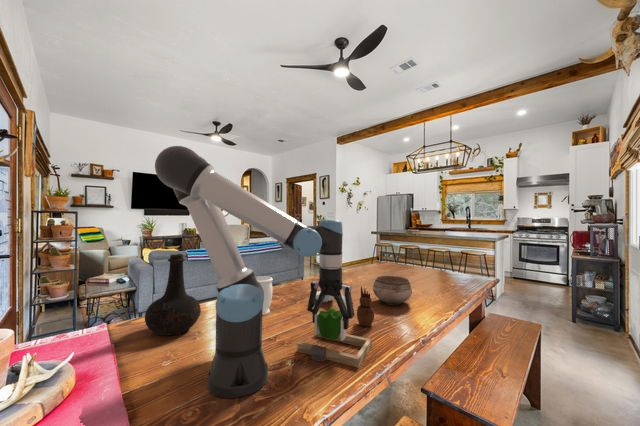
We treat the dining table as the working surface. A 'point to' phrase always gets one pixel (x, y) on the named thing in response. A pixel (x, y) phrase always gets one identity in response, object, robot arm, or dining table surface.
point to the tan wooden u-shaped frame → (344, 358)
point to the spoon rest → (329, 298)
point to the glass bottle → (173, 304)
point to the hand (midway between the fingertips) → (330, 335)
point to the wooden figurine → (365, 309)
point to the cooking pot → (392, 289)
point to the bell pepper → (330, 323)
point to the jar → (266, 291)
